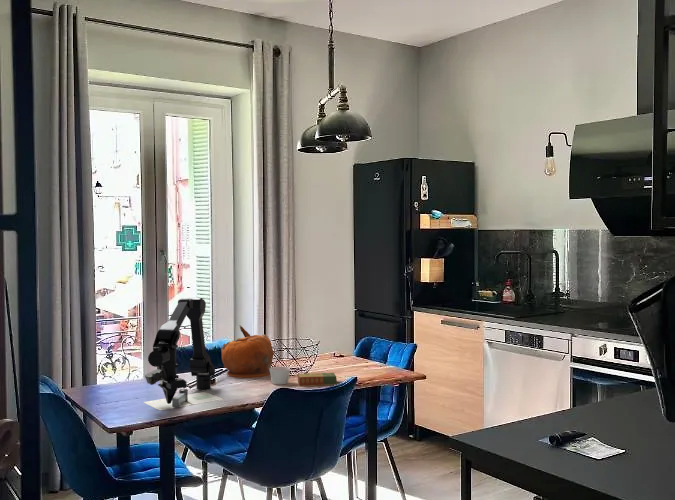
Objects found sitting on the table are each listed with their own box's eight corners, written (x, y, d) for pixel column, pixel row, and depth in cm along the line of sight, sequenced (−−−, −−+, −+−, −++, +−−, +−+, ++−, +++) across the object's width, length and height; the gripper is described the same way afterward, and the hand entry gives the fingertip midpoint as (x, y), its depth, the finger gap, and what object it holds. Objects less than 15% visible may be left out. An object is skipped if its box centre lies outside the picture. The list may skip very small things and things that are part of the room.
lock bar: (180, 399, 262) (180, 388, 262) (188, 399, 262) (188, 388, 262) (171, 407, 250) (171, 396, 250) (179, 407, 250) (179, 396, 249)
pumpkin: (213, 373, 317) (213, 325, 316) (257, 366, 333) (257, 320, 333) (241, 380, 300) (240, 330, 299) (286, 372, 317) (285, 324, 316)
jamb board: (142, 404, 259) (142, 401, 259) (204, 394, 275) (204, 391, 275) (159, 413, 246) (159, 410, 246) (223, 401, 262) (223, 398, 262)
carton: (297, 383, 296) (297, 373, 296) (334, 381, 299) (334, 371, 299) (299, 387, 288) (299, 376, 288) (336, 385, 290) (336, 375, 290)
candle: (265, 384, 292) (265, 369, 292) (275, 380, 301) (275, 365, 301) (284, 386, 289) (284, 371, 289) (293, 381, 297) (293, 367, 297)
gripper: (137, 360, 254) (138, 402, 254) (157, 368, 239) (158, 412, 239) (165, 357, 261) (166, 397, 261) (187, 364, 246) (187, 407, 246)
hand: (168, 403), depth 252 cm, fingers closed
